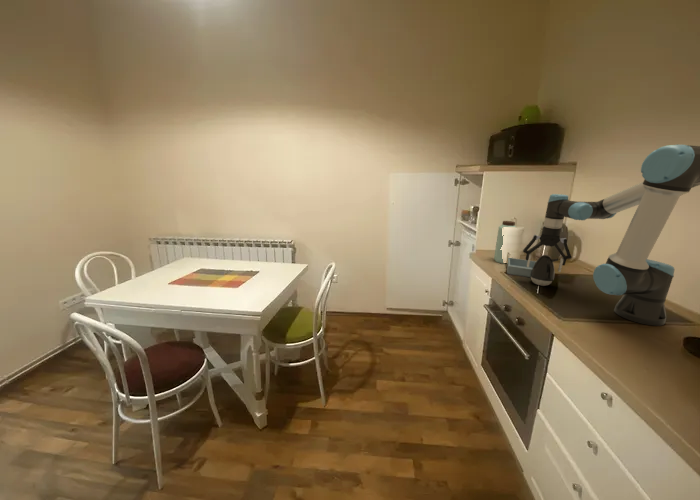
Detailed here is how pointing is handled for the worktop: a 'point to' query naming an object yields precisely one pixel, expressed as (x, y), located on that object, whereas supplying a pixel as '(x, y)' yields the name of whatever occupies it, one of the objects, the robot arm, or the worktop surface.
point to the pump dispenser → (543, 271)
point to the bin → (519, 267)
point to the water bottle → (501, 240)
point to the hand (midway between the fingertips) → (543, 268)
